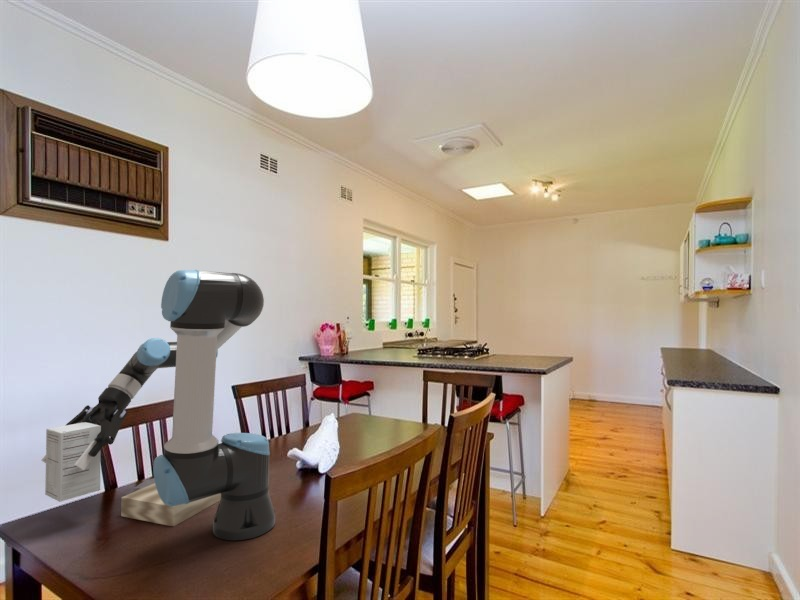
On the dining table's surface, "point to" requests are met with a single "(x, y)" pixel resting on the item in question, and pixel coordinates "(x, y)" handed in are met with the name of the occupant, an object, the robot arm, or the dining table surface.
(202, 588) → the dining table surface
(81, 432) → the supplement box
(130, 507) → the birch stacking block
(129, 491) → the grey block
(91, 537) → the dining table surface
